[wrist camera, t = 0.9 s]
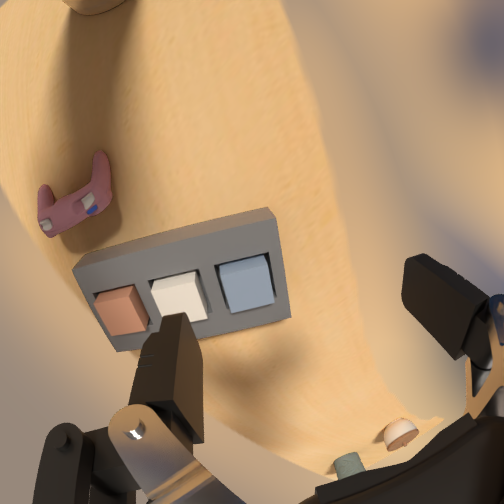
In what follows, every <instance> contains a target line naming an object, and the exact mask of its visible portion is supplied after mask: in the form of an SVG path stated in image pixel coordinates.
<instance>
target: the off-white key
mask: <svg viewBox="0 0 504 504" xmlns="http://www.w3.org/2000/svg"><path fill="white" fill-rule="evenodd" d="M151 293H152V295H153V298H154V300H155V302H156V305H157V307H158V309H159V311H160V313H161V316H162V317H163V316H165V315H171V314H176V313H181V312H185V313H186V314H187V316H188V318H189V321H190V322H193V321H198V320H203V319H208V314H207V302H206V299H205V296H204V293H203V290H202V287H201V284H200V281H199V278H198V275H197V272H196V269H195V270H191V271H186V272H182V273H178V274H174V275H169V276H165V277H161V278H156V279H155V280H154V283H153V286H152V289H151Z"/></svg>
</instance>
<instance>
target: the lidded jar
mask: <svg viewBox="0 0 504 504" xmlns="http://www.w3.org/2000/svg"><path fill="white" fill-rule="evenodd" d="M418 433H419V431H418V429H417V428H416V426H415V425H414V424H413V423H412V422H411V421H410V420H408V419H403V418H398V419H396V420H394V421H393V422H391V423H390V424H388V425H387V426H386V428H385V432H384V436H383V437H384V443H385V445H386V447H387V450H388V451H393V450H396V449H398V448H400V447H402V446H404V447H405V446H407V443H409V442H410V441H411V440H413V439H414V438H415V437H416V436H417V435H418Z"/></svg>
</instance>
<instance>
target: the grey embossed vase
mask: <svg viewBox="0 0 504 504" xmlns="http://www.w3.org/2000/svg"><path fill="white" fill-rule="evenodd" d="M334 465H335V469H336V473H337V477H338V480H340V479H343V478H345V477H348V476H351V475H354V474H356V473H359V472H362V471H366V470H365V468H364V466H363V464H362V462H361V459H360V457H359V455H358V453H357V452H352V453H349V454H346V455H343V456H341V457H339V458H338V459H336V460H335V461H334Z"/></svg>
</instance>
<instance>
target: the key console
mask: <svg viewBox="0 0 504 504" xmlns="http://www.w3.org/2000/svg"><path fill="white" fill-rule="evenodd" d="M262 253H263V255H264V257H265V260H266V262H267V264H268V269H269V275H270V280H271V285H272V291H273V296H274V302H275V303H272V304H268V305H264V306H260V307H256V308H252V309H247V310H243V311H239V312H235V313H231V310H230V307H229V304H228V300H227V297H226V294H225V290H224V287H223V283H222V280H221V276H220V266H219V264H220V263H225V262H229V261H233V260H237V259H241V258H246V257H250V256H254V255H258V254H262ZM195 269H196V272H197V275H198V278H199V281H200V284H201V287H202V290H203V293H204V296H205V299H206V302H207V314H208V319H203V320H198V321H193V322H190V323H191V326H192V328H193V331H194V334H195V336H196V339H200V338H206V337H210V336H215V335H220V334H225V333H229V332H234V331H238V330H243V329H247V328H251V327H255V326H260V325H264V324H268V323H272V322H276V321H279V320H283V319H287V318H291V311H290V304H289V297H288V290H287V283H286V277H285V270H284V264H283V257H282V251H281V245H280V239H279V233H278V226H277V220H276V217H275V216H274V214H273V213H272V212H271V211H270V209H269V208H268V207H265V208H260V209H256V210H251V211H247V212H243V213H238V214H234V215H230V216H225V217H221V218H217V219H213V220H209V221H205V222H201V223H197V224H193V225H189V226H185V227H181V228H177V229H173V230H169V231H166V232H162V233H158V234H154V235H151V236H147V237H143V238H140V239H136V240H132V241H129V242H125V243H122V244H118V245H115V246H111V247H108V248H105V249H101V250H98V251H95V252H91V253H88V254H85V255H84V256H83V257H82V258H81V260H80V261H79V262H78V263H77V264H76V265H75V267H74V268H73V269H72V272H73V274H74V276H75V278H76V280H77V282H78V284H79V286H80V288H81V290H82V292H83V294H84V296H85V298H86V300H87V302H88V304H89V306H90V308H91V310H92V311H93V313H94V315H95V317H96V319H97V320H98V322H99V324H100V326H101V327H102V329H103V331H104V332H105V334H106V335H107V337H108V339H109V340H110V342H111V344H112V345H113V347H114V349H115V350H116V352H121V351H129V350H136V349H142V346H143V343H144V342H145V341H146V340H147V338H148V337H149V336H150V334H151V333H154V332H159V329H160V325H161V321H162V316H161V313H160V311H159V309H158V307H157V305H156V302H155V300H154V298H153V295H152V293H151V289H152V286H153V283H154V280H155V279H156V278H161V277H165V276H169V275H174V274H178V273H182V272H186V271H191V270H195ZM131 284H135V287H136V289H137V291H138V293H139V296H140V298H141V300H142V302H143V304H144V306H145V309H146V311H147V313H148V315H149V320H148V324H147V328H146V331H140V332H134V333H128V334H122V335H116V336H111V334H110V333H109V331H108V329H107V328H106V326H105V324H104V322H103V321H102V319H101V317H100V315H99V313H98V312H97V310H96V308H95V306H94V302H95V300H96V298H97V297H98V295H99V293H100V292H101V291H105V290H109V289H114V288H118V287H122V286H126V285H131Z"/></svg>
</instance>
